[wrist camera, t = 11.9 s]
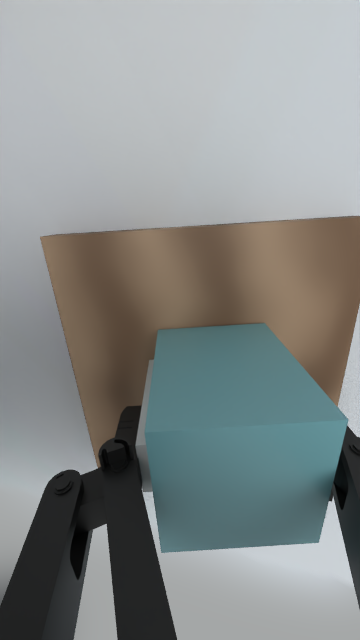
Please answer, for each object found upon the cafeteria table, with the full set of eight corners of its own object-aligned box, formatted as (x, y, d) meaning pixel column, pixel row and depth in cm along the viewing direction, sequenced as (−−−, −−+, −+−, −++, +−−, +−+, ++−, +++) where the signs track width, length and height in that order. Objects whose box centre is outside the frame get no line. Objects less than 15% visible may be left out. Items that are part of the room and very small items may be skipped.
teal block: (166, 414, 18) (161, 552, 11) (158, 329, 16) (144, 432, 8) (258, 408, 18) (318, 542, 11) (264, 323, 16) (348, 419, 8)
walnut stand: (105, 453, 22) (71, 571, 15) (56, 234, 15) (-52, 251, 8) (313, 439, 22) (383, 551, 15) (353, 215, 16) (520, 215, 8)
